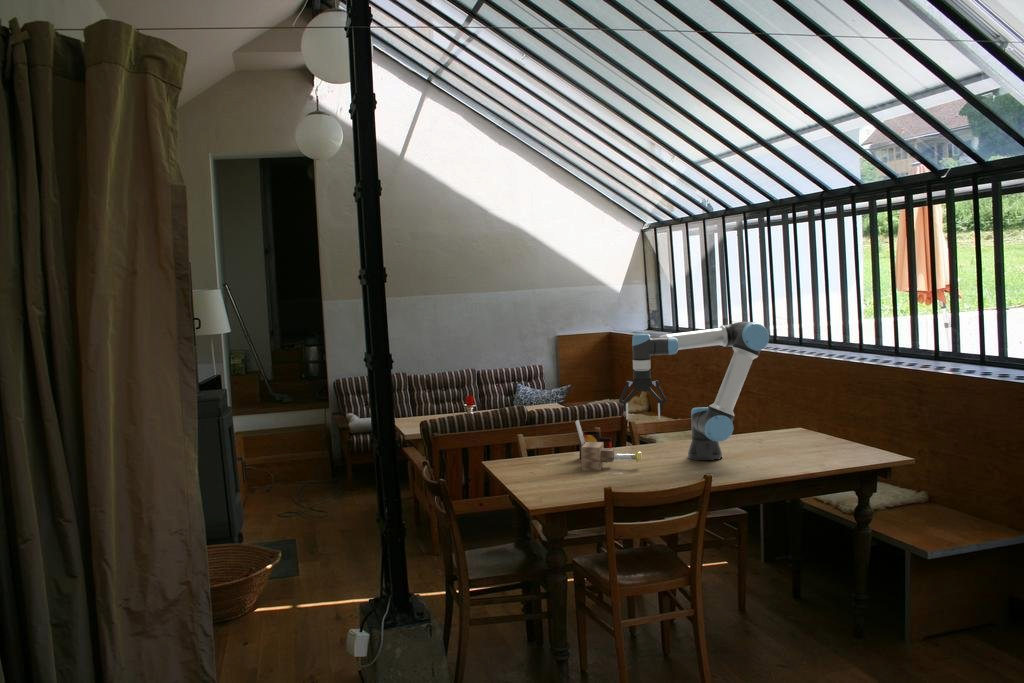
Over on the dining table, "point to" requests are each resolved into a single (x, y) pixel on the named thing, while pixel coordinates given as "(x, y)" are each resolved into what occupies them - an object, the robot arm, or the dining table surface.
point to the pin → (629, 457)
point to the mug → (593, 438)
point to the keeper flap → (580, 431)
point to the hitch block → (595, 455)
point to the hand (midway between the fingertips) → (643, 418)
